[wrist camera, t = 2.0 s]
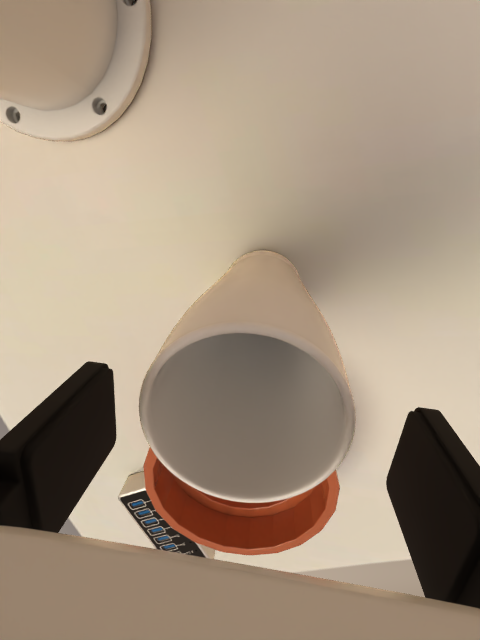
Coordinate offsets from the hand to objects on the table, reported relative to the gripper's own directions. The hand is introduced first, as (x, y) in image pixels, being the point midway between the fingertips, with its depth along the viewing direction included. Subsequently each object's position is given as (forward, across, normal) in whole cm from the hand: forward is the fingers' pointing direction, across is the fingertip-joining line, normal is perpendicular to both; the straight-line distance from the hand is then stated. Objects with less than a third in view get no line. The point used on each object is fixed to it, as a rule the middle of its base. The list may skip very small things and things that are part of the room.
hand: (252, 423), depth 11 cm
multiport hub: (+15, +6, +23) cm, 28 cm away
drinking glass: (+15, 0, 0) cm, 15 cm away
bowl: (+15, 0, +12) cm, 19 cm away
